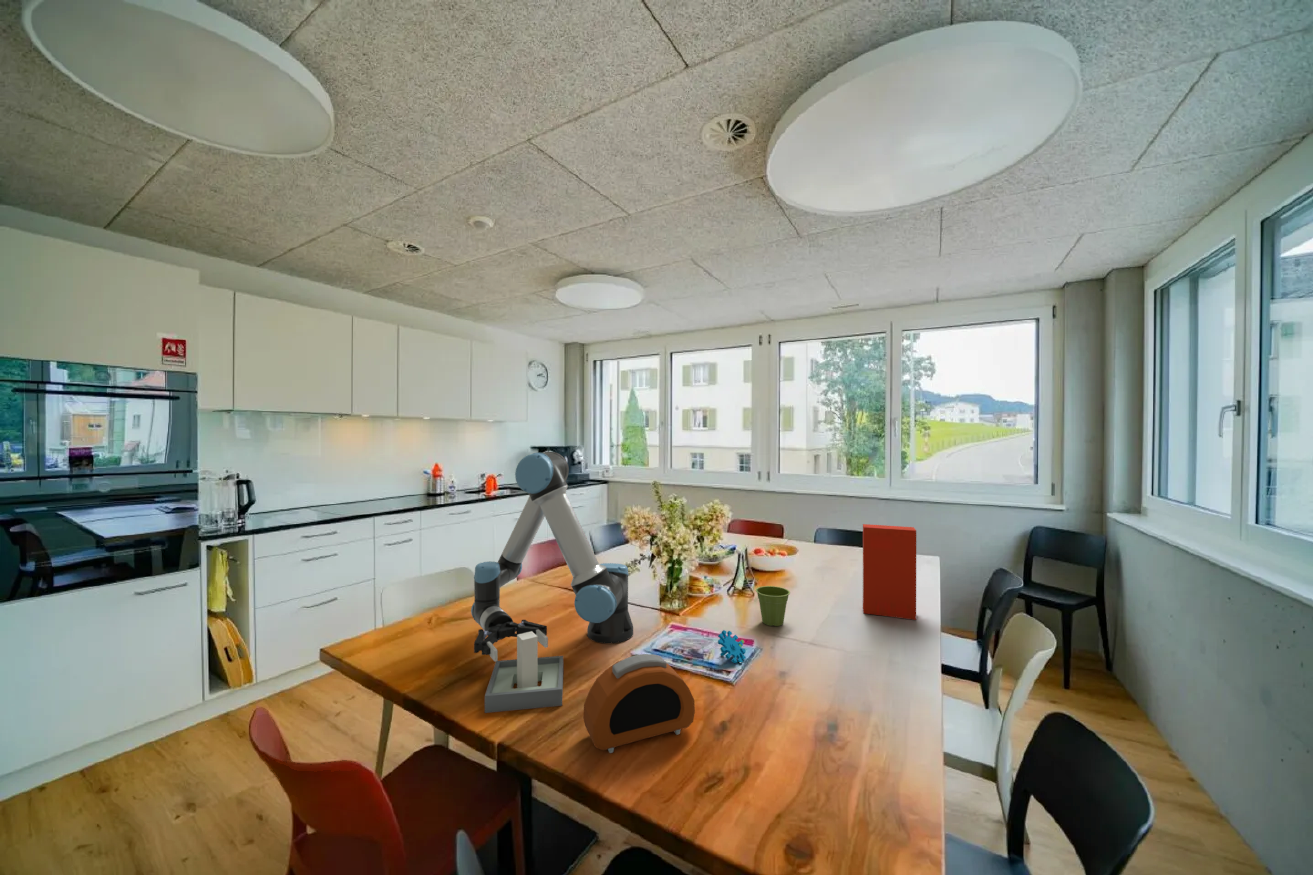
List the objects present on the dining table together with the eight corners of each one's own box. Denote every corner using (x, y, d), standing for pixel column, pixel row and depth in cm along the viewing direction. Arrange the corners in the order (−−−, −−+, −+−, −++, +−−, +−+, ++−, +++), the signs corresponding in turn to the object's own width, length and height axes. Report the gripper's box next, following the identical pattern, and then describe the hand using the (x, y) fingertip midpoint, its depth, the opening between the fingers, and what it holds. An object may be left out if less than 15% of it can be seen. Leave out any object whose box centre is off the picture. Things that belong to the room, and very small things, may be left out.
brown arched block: (593, 760, 97) (593, 677, 97) (582, 734, 105) (582, 659, 105) (696, 731, 107) (696, 656, 107) (678, 710, 115) (678, 640, 115)
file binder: (862, 606, 185) (862, 523, 185) (913, 612, 179) (913, 526, 179) (863, 613, 177) (863, 527, 177) (916, 620, 171) (916, 530, 171)
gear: (732, 664, 134) (715, 631, 140) (719, 674, 137) (702, 641, 143) (754, 657, 142) (737, 626, 148) (742, 667, 145) (725, 636, 150)
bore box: (563, 669, 135) (563, 655, 135) (562, 705, 117) (562, 689, 117) (496, 675, 131) (496, 660, 131) (484, 712, 114) (484, 695, 114)
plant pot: (794, 620, 171) (794, 589, 171) (783, 632, 161) (784, 598, 161) (762, 614, 177) (762, 583, 177) (750, 624, 167) (750, 592, 167)
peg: (531, 683, 127) (531, 631, 127) (537, 690, 124) (537, 636, 124) (516, 688, 125) (517, 634, 125) (522, 695, 121) (522, 640, 121)
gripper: (536, 626, 151) (565, 650, 134) (452, 646, 136) (472, 677, 119) (536, 602, 151) (565, 623, 133) (452, 619, 136) (473, 646, 119)
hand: (522, 648), depth 126 cm, fingers open, 13 cm apart
